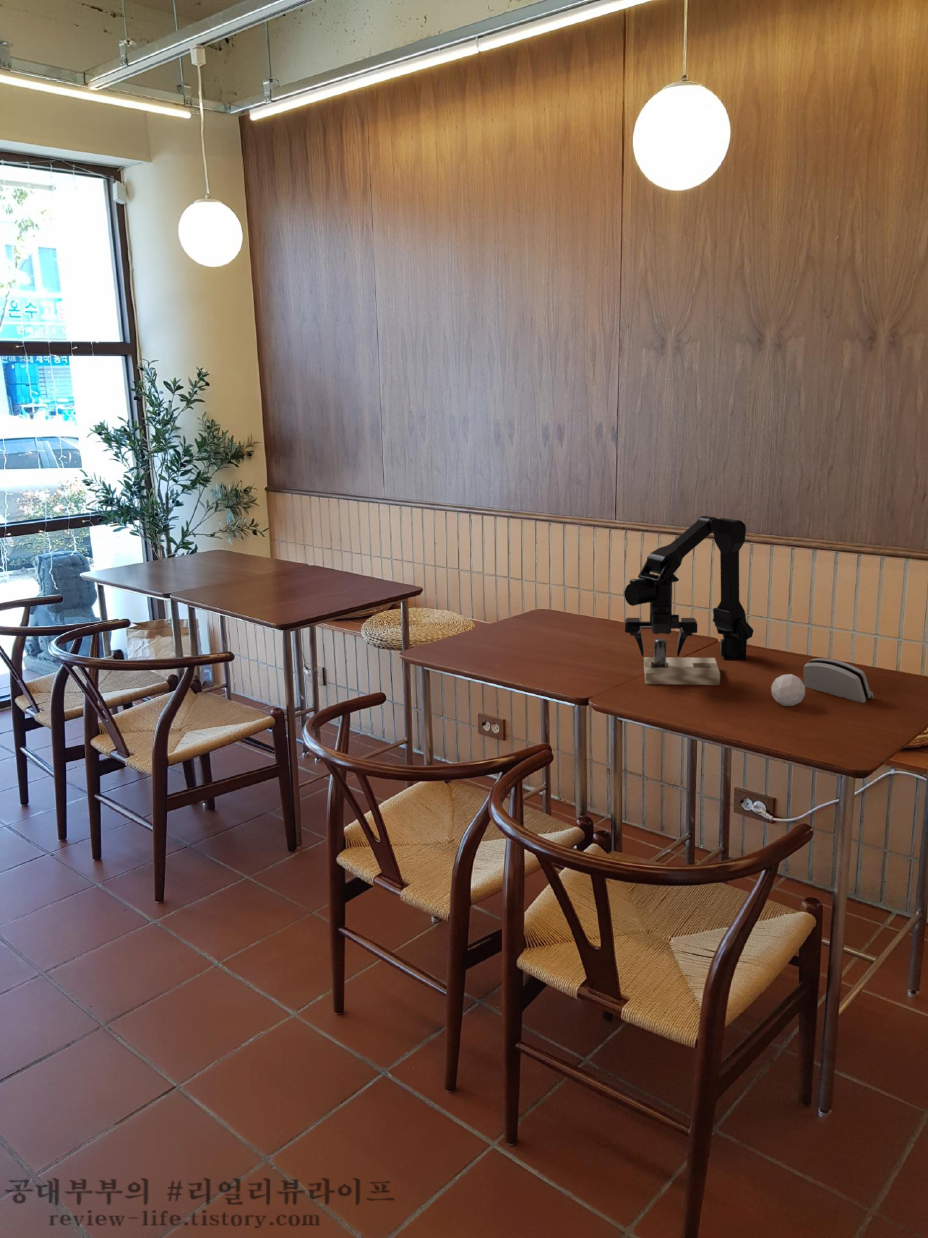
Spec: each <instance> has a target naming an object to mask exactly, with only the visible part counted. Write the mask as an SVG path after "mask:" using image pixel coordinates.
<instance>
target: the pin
mask: <svg viewBox="0 0 928 1238" xmlns="http://www.w3.org/2000/svg"><path fill="white" fill-rule="evenodd" d="M653 641H654V643H653V644H654V645H653V657H654V668H666V657H667V639H666V638H655V639H654V640H653Z"/></svg>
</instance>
